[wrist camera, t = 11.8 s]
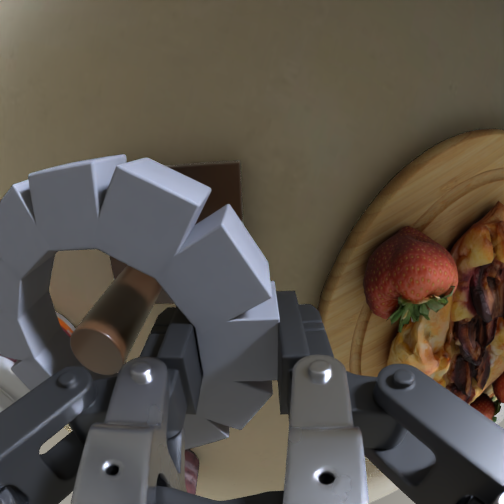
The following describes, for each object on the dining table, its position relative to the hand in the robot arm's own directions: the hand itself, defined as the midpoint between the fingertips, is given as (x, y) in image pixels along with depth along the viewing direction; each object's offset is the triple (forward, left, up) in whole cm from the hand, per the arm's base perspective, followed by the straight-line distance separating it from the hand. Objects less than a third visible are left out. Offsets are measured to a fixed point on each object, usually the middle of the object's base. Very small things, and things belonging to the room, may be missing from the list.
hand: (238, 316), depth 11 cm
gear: (-5, 0, 0) cm, 5 cm away
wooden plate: (+20, -8, -10) cm, 24 cm away
